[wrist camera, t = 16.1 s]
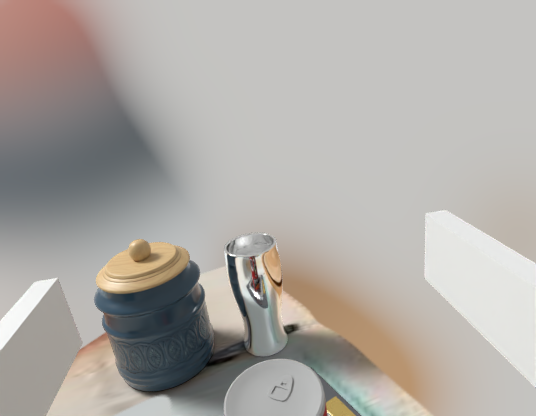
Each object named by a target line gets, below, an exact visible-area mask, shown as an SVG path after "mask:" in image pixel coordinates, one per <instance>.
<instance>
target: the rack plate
mask: <svg viewBox="0 0 536 416" xmlns="http://www.w3.org/2000/svg"><path fill="white" fill-rule="evenodd" d="M311 369H312V368H311ZM312 370H313V369H312ZM313 371H314V370H313ZM314 372H315V371H314ZM315 373H316V372H315ZM316 374H317V373H316ZM317 376H318V377H319V379H320V381H321V383H322V385H323V390H324V393H325V399H326V407H327V415H328V416H361V415H360V414H359V413H358V412H357V411H356V410H355V409H354V408H353V407H352V406H351V405H349V404H348V403H347V402H346V401H345V400H344V399H343V398H342V397H341V396H340V395H339V394H338V393H337V392H336V391H335V390H334V389H333V388H332V387H331V386H330V385H329V384H328V383H327V382H326V381H325V380H324V379H323V378H322V377H320V376H319V375H318V374H317Z"/></svg>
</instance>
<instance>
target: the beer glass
mask: <svg viewBox="0 0 536 416" xmlns="http://www.w3.org/2000/svg"><path fill="white" fill-rule="evenodd" d="M224 251H225V261H226V270H227V276H228V281H229V286H230V289H231V292H232V295H233V298H234V300H235V303H236V305H237V308H238V310H239V312H240V315H241V318H242V321H243V325H244V346H245V348H246V350H247V351H248V352H249V353H251V354H253V355H256V356H270V355H274V354H276V353H278V352H279V351H281V350H282V349H283V348H284V347H285V346H286V344H287V341H288V336H287V332H286V330H285V327H284V324H283V319H282V313H281V310H282V291H283V279H282V278H283V277H282V268H281V262H280V257H279V252H278V248H277V244H276V239H275V237H273V236H272V235H269V234H266V233H248V234H243V235H240V236H237V237H235V238H233V239H231V240H230V241H228V242H227V243H226V244H225V246H224Z"/></svg>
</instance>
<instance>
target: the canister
mask: <svg viewBox="0 0 536 416" xmlns="http://www.w3.org/2000/svg"><path fill="white" fill-rule="evenodd" d="M199 277H200V269H199V267H198V265H197V264H196V263H195V262H193V261H191V260H190V256H189V253H188V251H187V250H186V249H184V248H182V247H179V246H175V245H172V244H169V243H164V242H155V243H148V242H146V241H145V240H143V239H138V240H134V241H133V242H132V243H131V244H130V245H129V248H128V249H127V250H125V251H123V252H121V253H119V254H118V255H116V256H114V257H113V258H112V259H111V260H110V261H109V262H108V263H107V265H106V266H104V267H103V268H102V269H101V270H100V272H99V273H98V275H97V277H96V284H97V286H98V287H99V288H98V290H97V292H96V294H95V297H94V302H95V305H96V307H97V308H98V309H99V310H100V311H101V312H103V313H104V315H103V318H102V325H103V328H104V330H105V331H106V332H107V335H108V338H109V340H110V343H111V346H112V349H113V352H114V355H115V361H116V366H117V368H118V371H119V373H120V375H121V376H122V377H123V378H124V380H125V382H126V383H127V384H128V385H129V386H131V387H133V388H135V389H137V390H141V391H160V390H165V389H169V388H172V387H175V386H178V385H180V384H182V383H184V382H186V381H187V380H189V379H191V378H192V377H194V376H195V375H196V374H197V373H199V372H200V371H201V370H202V369H203V368H204V367H205V365H206V364H207V363H208V361H209V360H210V358H211V356H212V354H213V350H214V332H213V327H212V325H211V323H210V320H209V316H208V311H207V307H206V302H205V291H204V289H203V287H202V286H201V284H199V283H198V280H199Z"/></svg>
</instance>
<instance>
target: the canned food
mask: <svg viewBox="0 0 536 416" xmlns="http://www.w3.org/2000/svg"><path fill="white" fill-rule="evenodd" d="M223 408H224V416H328V415H327V407H326V399H325V393H324V390H323V385H322V383H321V381H320V379H319V377H318V376H317V374H316V373H315V372H314V371H313V370H312V369H311V368H310V367H308V366H306V365H305V364H303V363H301V362H298V361H295V360H290V359H271V360H266V361H263V362H260V363H257V364H255V365H253V366H251V367H250V368H248V369H246V370H245V371H244V372H242V373H241V374H240V375H239V376H238V377H237V378H236V379H235V380H234V381H233V383H232V384H231V386H230V387H229V389H228V391H227V394H226V396H225V400H224V407H223Z"/></svg>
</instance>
